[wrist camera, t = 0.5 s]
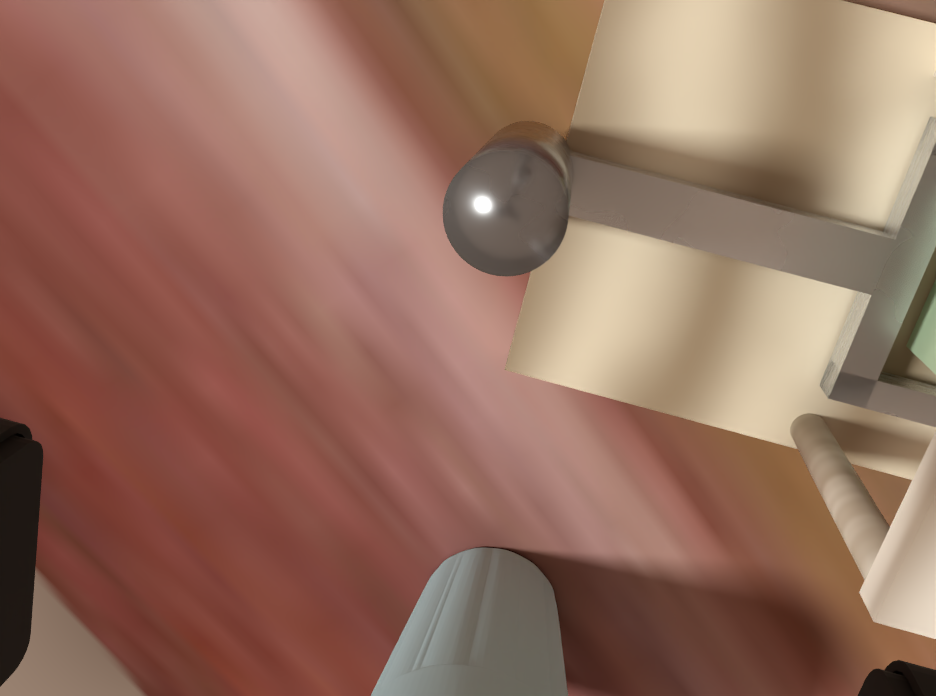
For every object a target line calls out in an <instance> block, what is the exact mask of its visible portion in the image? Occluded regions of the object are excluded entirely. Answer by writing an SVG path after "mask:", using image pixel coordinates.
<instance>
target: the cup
mask: <svg viewBox="0 0 936 696" xmlns="http://www.w3.org/2000/svg"><path fill="white" fill-rule="evenodd" d="M371 696H568V691H567V683H566V675H565V667H564V658H563V650H562V642H561V633H560V625H559V618H558V611H557V604H556V601H555V595H554V591H553V588H552V586H551V584H550V582H549V581H548V579H547V578H546V577H545V576H544V574H543V573H542V572H541V571H540V570H539V568H538V567H537V566H536V565H534V564H533V563H532V562H531V561H529V560H527V559H525V558H524V557H522V556H520V555H518V554H516V553H514V552H511V551H508V550H504V549H498V548H487V547H480V548H473V549H469V550H466V551H463V552H460V553H458V554H455V555H453V556H451V557H449V558H448V559H446V560H445V561H444V562H443V563H442V564H441V565H440V566H439V568H438V569H437V570H436V571H435V572H434V573H433V574H432V576H431V577H430V579H429V581H428V583H427V585H426V587H425V589H424V590H423V592H422V594H421V596H420V598H419V600H418V602H417V604H416V606H415V608H414V610H413V612H412V614H411V616H410V618H409V620H408V622H407V624H406V626H405V628H404V630H403V632H402V634H401V636H400V638H399V640H398V642H397V644H396V646H395V648H394V650H393V652H392V654H391V656H390V658H389V660H388V662H387V664H386V666H385V668H384V670H383V672H382V674H381V676H380V678H379V680H378V682H377V684H376V686H375V688H374V690H373V692H372V694H371Z"/></svg>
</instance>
